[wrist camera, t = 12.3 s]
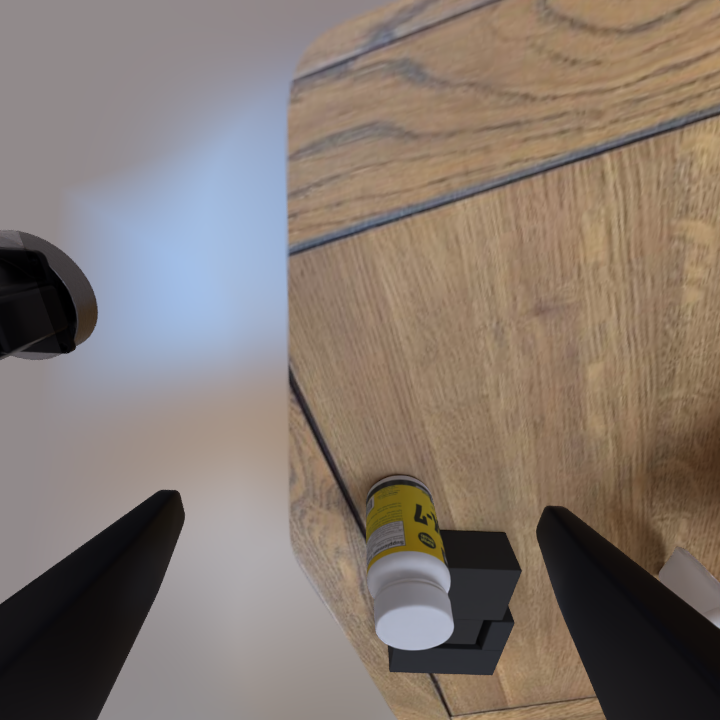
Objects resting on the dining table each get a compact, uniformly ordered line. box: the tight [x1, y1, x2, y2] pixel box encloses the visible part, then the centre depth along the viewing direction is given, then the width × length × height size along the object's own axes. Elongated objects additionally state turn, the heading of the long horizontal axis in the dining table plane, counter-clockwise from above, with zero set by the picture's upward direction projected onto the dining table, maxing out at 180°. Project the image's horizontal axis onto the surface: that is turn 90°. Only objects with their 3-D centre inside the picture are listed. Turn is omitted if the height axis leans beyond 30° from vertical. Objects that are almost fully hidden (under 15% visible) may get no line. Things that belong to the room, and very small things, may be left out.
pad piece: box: [440, 530, 522, 644], centre depth 27 cm, size 7×10×3 cm
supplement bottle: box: [366, 475, 454, 650], centre depth 21 cm, size 5×5×8 cm
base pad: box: [388, 606, 514, 675], centre depth 29 cm, size 9×8×3 cm
